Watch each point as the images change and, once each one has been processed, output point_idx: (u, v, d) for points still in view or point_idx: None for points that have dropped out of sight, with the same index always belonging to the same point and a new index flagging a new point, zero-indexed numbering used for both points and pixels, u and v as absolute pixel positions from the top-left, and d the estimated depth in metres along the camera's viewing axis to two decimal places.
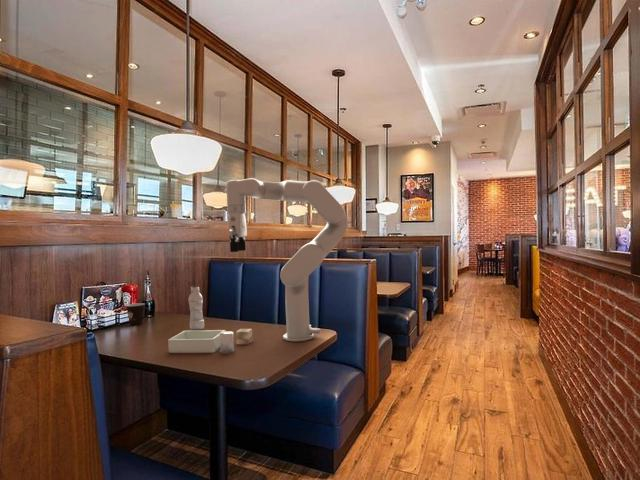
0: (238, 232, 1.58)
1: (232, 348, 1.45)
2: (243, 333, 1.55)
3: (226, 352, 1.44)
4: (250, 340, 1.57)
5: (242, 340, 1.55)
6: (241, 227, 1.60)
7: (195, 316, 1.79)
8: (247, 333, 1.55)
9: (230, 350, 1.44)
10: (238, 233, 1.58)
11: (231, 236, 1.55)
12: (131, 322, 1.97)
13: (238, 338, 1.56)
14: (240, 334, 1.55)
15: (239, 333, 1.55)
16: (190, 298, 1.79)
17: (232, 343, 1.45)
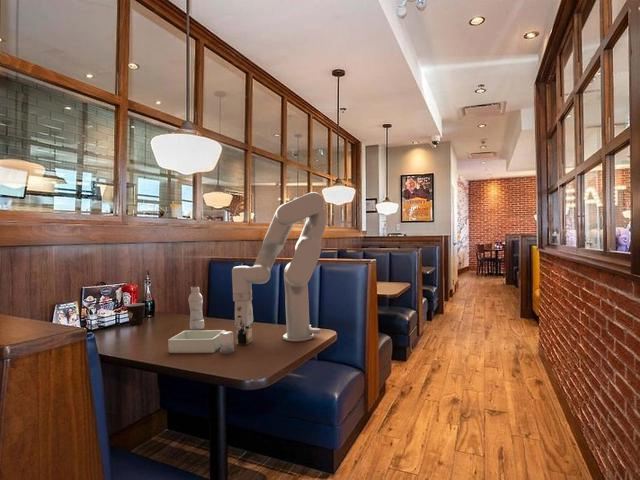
0: (244, 322, 1.53)
1: (232, 348, 1.45)
2: None
3: (226, 352, 1.44)
4: (250, 340, 1.57)
5: None
6: (247, 316, 1.54)
7: (195, 316, 1.79)
8: (247, 333, 1.55)
9: (230, 350, 1.44)
10: (244, 323, 1.52)
11: None
12: (131, 322, 1.97)
13: None
14: None
15: None
16: (190, 298, 1.79)
17: (232, 343, 1.45)
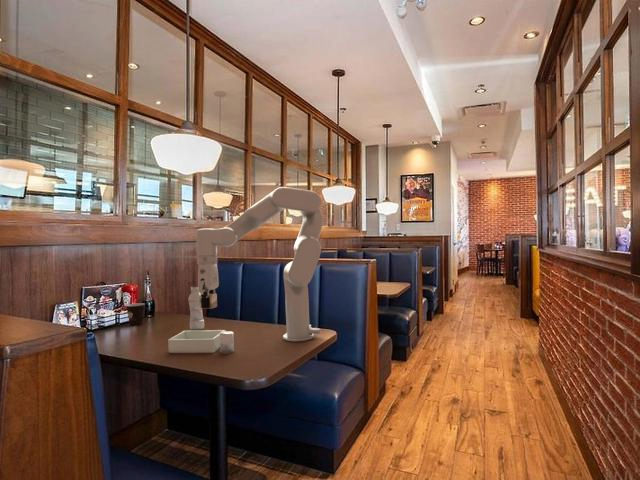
0: (207, 285, 1.47)
1: (232, 348, 1.45)
2: None
3: (226, 352, 1.44)
4: (214, 305, 1.52)
5: None
6: (211, 279, 1.49)
7: (195, 316, 1.79)
8: (210, 297, 1.50)
9: (230, 350, 1.44)
10: (208, 286, 1.47)
11: None
12: (131, 322, 1.97)
13: None
14: None
15: None
16: (190, 298, 1.79)
17: (232, 343, 1.45)
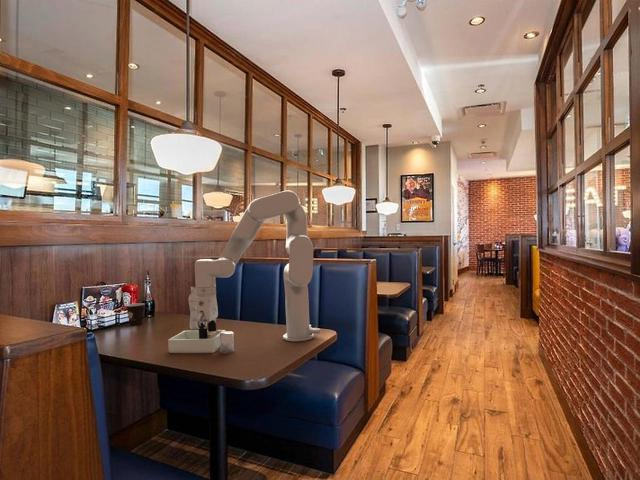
0: (207, 317, 1.47)
1: (232, 348, 1.45)
2: None
3: (226, 352, 1.44)
4: None
5: None
6: (210, 311, 1.49)
7: (195, 316, 1.79)
8: (210, 336, 1.50)
9: (230, 350, 1.44)
10: (207, 318, 1.47)
11: (199, 324, 1.45)
12: (131, 322, 1.97)
13: None
14: None
15: None
16: (190, 298, 1.79)
17: (232, 343, 1.45)
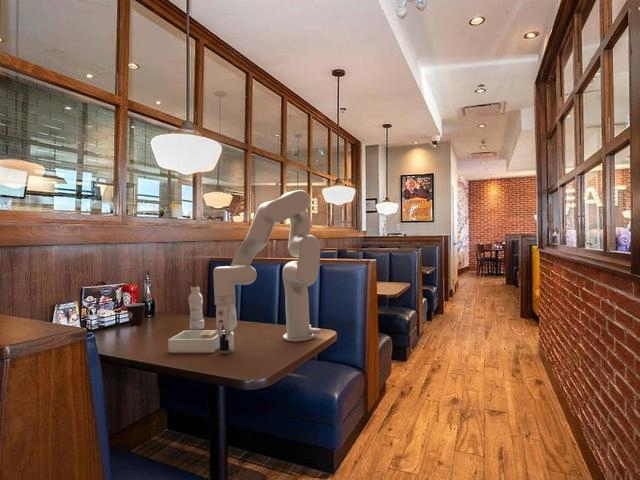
0: (226, 327, 1.41)
1: (232, 348, 1.45)
2: (206, 336, 1.50)
3: (226, 352, 1.44)
4: None
5: None
6: (230, 321, 1.43)
7: (195, 316, 1.79)
8: (210, 336, 1.50)
9: (230, 350, 1.44)
10: (226, 328, 1.41)
11: None
12: (131, 322, 1.97)
13: None
14: (203, 337, 1.50)
15: (202, 336, 1.50)
16: (190, 298, 1.79)
17: (232, 343, 1.45)
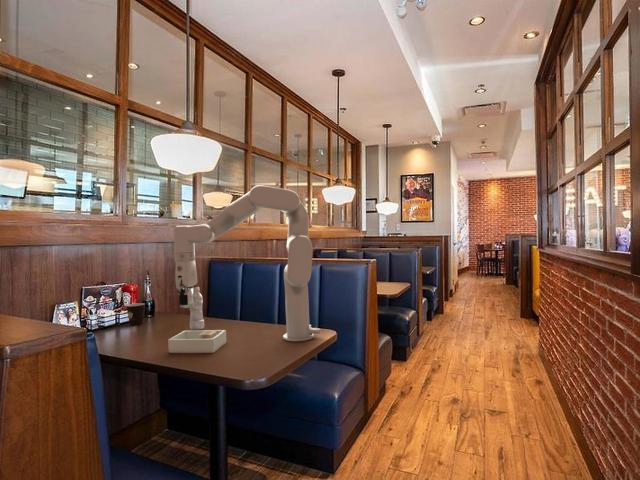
0: (185, 282, 1.48)
1: (191, 303, 1.52)
2: (206, 336, 1.50)
3: (185, 307, 1.51)
4: None
5: None
6: (189, 276, 1.50)
7: (195, 316, 1.79)
8: (210, 336, 1.50)
9: (189, 305, 1.51)
10: (185, 283, 1.48)
11: None
12: (131, 322, 1.97)
13: None
14: (203, 337, 1.50)
15: (202, 336, 1.50)
16: None
17: (191, 298, 1.52)
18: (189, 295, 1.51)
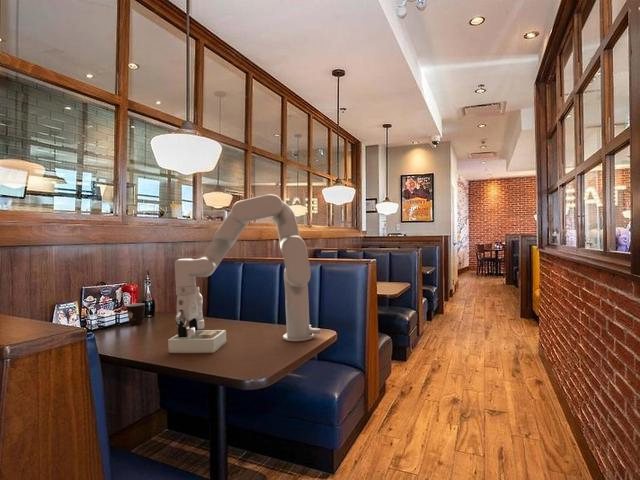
0: (186, 316, 1.48)
1: None
2: (206, 336, 1.50)
3: None
4: None
5: None
6: (190, 310, 1.50)
7: None
8: (210, 336, 1.50)
9: None
10: (186, 317, 1.48)
11: (178, 322, 1.46)
12: (131, 322, 1.97)
13: None
14: (203, 337, 1.50)
15: (202, 336, 1.50)
16: None
17: (193, 338, 1.52)
18: (191, 335, 1.51)
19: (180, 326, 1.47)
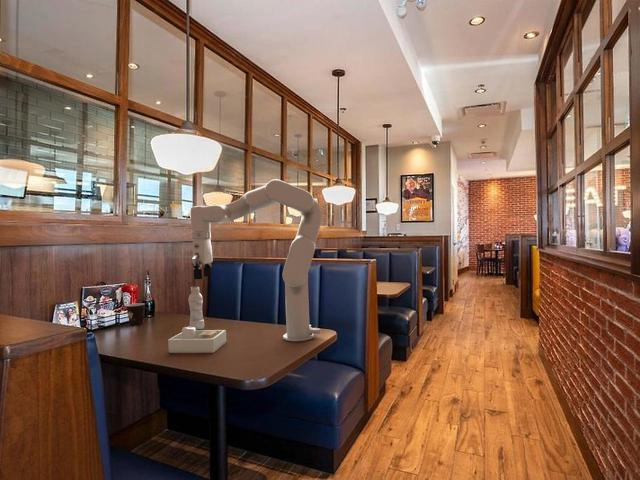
0: (202, 259, 1.56)
1: None
2: (206, 336, 1.50)
3: None
4: None
5: None
6: (205, 254, 1.58)
7: (195, 316, 1.79)
8: (210, 336, 1.50)
9: None
10: (202, 260, 1.56)
11: (194, 264, 1.53)
12: (131, 322, 1.97)
13: None
14: (203, 337, 1.50)
15: (202, 336, 1.50)
16: (190, 298, 1.79)
17: (193, 338, 1.52)
18: (191, 335, 1.51)
19: (196, 268, 1.55)
